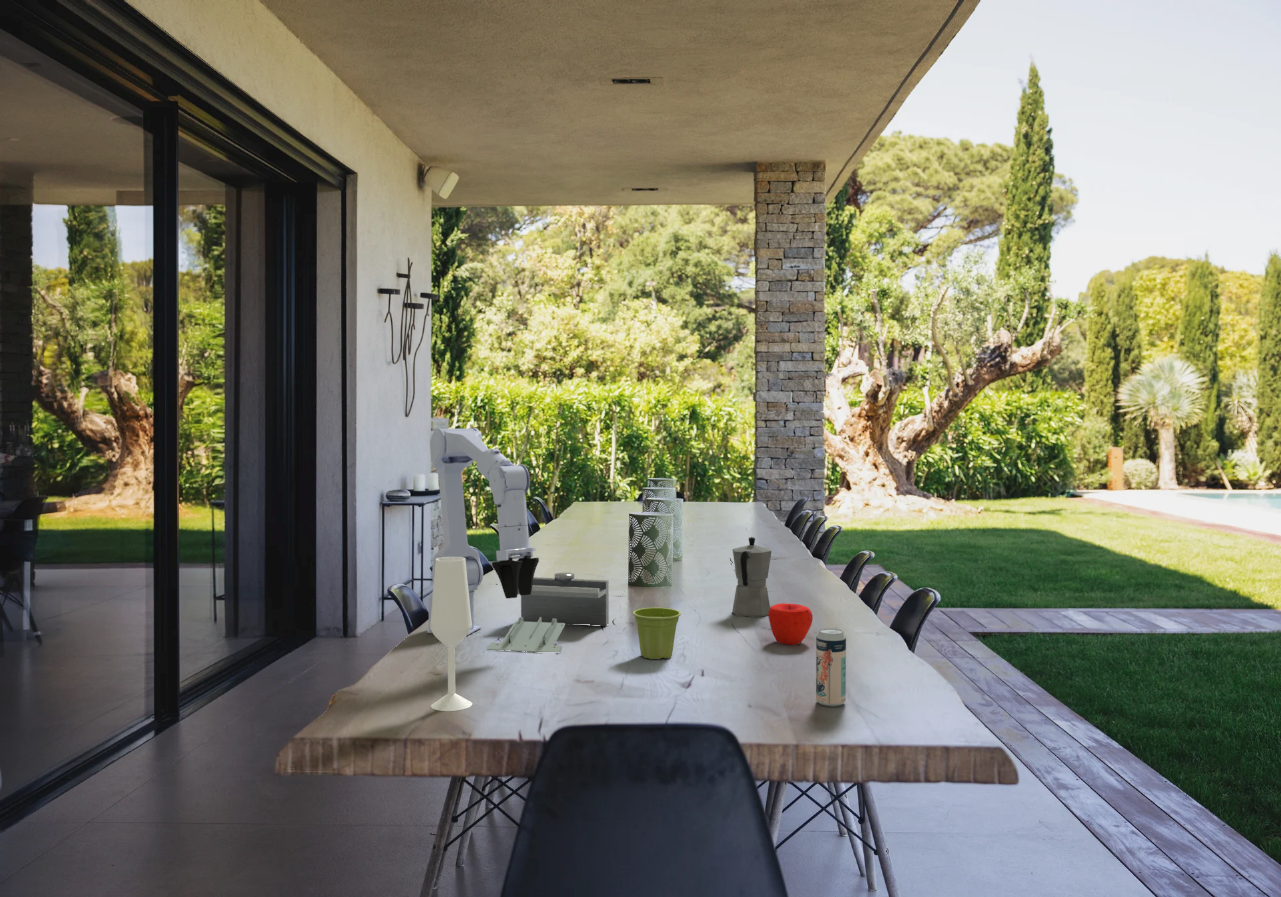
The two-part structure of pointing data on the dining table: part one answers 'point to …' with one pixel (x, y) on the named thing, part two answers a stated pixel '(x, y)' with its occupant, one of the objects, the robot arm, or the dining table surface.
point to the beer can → (831, 667)
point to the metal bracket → (531, 637)
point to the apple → (790, 622)
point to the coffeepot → (751, 580)
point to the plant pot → (656, 631)
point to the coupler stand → (567, 600)
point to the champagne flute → (451, 620)
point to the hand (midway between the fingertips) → (518, 596)
